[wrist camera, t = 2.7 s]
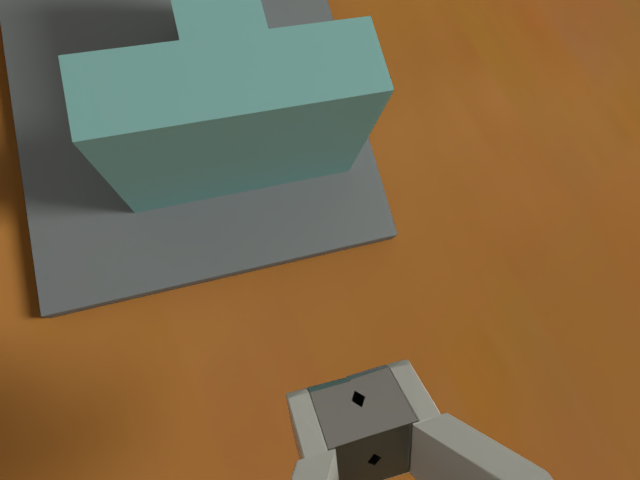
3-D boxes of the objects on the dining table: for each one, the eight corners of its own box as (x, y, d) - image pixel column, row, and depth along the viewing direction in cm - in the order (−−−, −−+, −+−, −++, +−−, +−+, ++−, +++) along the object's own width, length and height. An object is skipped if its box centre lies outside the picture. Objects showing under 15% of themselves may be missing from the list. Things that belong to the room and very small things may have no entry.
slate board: (50, 318, 27) (41, 316, 26) (-4, -57, 32) (-13, -73, 31) (392, 238, 31) (397, 234, 30) (297, -81, 36) (299, -95, 35)
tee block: (134, 212, 28) (72, 142, 18) (101, 30, 30) (29, -117, 20) (349, 170, 30) (394, 90, 21) (302, 6, 33) (323, -134, 23)
